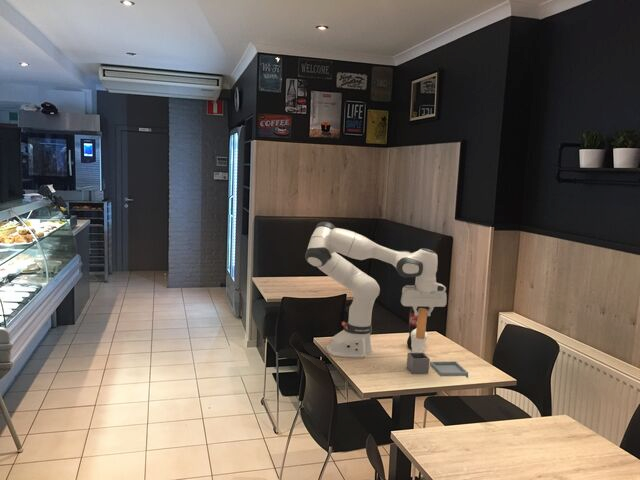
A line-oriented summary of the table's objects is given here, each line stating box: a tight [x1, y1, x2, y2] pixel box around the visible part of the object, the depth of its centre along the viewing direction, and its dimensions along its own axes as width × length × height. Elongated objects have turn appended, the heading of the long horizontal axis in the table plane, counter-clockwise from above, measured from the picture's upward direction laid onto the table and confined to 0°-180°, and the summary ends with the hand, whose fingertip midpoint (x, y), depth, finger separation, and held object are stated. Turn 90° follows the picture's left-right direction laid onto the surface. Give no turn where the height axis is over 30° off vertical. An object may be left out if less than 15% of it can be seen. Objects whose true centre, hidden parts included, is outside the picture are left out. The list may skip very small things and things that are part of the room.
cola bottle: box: [406, 306, 428, 351], centre depth 268 cm, size 8×8×30 cm
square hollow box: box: [406, 352, 431, 375], centre depth 239 cm, size 8×8×8 cm
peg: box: [416, 308, 429, 339], centre depth 236 cm, size 4×4×13 cm
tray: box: [429, 360, 469, 379], centre depth 242 cm, size 13×13×2 cm
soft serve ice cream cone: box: [410, 328, 428, 353], centre depth 258 cm, size 8×8×16 cm
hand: (422, 315), depth 235 cm, fingers closed on peg, 4 cm apart
